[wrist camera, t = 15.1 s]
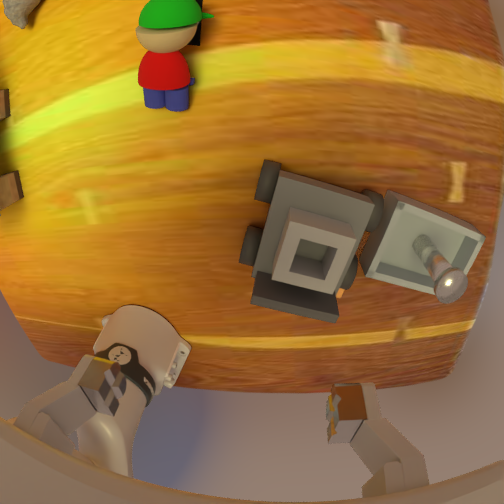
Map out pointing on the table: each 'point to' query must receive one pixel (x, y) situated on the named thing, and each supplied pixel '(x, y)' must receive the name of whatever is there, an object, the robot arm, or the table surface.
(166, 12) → the toy
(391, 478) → the robot arm
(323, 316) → the trolley
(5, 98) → the toy
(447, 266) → the pin
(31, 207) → the table surface
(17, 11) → the seashell
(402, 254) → the tray
